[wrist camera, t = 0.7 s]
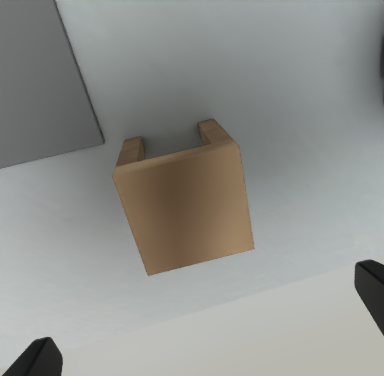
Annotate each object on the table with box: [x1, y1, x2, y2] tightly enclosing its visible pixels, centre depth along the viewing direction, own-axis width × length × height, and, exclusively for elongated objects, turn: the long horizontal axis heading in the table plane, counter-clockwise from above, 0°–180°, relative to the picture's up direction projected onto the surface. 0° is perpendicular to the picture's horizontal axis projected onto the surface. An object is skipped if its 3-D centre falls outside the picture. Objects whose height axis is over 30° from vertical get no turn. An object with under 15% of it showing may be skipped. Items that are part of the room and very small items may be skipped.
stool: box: [112, 119, 255, 276], centre depth 17 cm, size 6×6×6 cm
